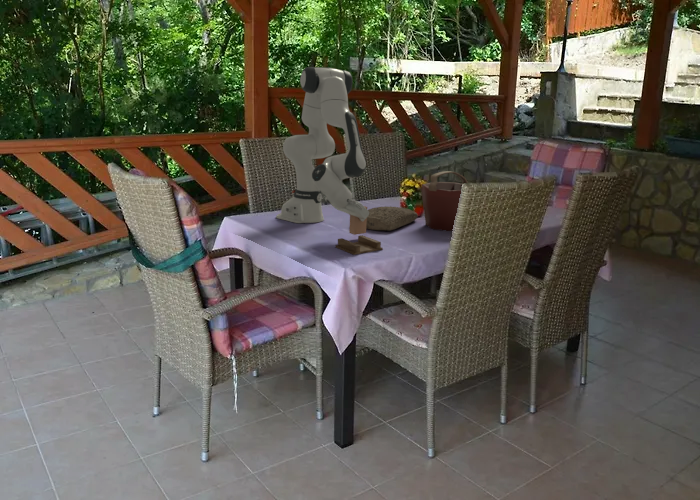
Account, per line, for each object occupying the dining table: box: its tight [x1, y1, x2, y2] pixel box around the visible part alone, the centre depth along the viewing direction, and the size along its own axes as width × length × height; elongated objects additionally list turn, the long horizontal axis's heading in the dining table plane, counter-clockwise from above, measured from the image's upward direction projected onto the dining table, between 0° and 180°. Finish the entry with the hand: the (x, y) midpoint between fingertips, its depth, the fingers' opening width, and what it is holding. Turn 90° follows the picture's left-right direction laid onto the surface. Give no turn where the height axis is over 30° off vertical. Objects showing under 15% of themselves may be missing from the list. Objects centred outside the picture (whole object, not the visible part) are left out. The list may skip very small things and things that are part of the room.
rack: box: [335, 234, 383, 256], centre depth 247 cm, size 14×12×3 cm
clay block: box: [348, 205, 368, 236], centre depth 259 cm, size 6×4×11 cm, turn 126°
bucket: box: [421, 170, 469, 232], centre depth 285 cm, size 24×22×25 cm
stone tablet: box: [366, 205, 418, 231], centre depth 288 cm, size 20×8×30 cm
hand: (359, 218), depth 259 cm, fingers closed on clay block, 3 cm apart
